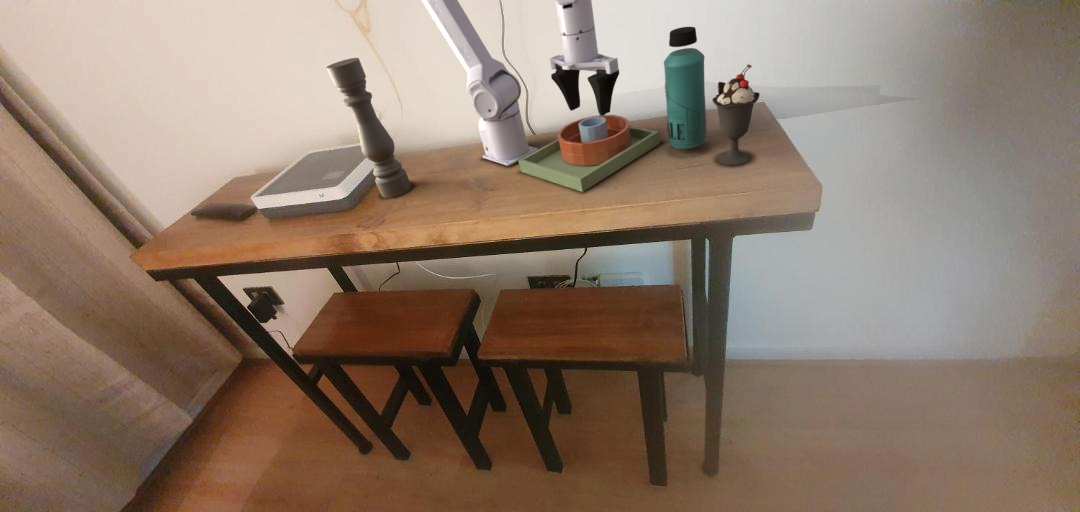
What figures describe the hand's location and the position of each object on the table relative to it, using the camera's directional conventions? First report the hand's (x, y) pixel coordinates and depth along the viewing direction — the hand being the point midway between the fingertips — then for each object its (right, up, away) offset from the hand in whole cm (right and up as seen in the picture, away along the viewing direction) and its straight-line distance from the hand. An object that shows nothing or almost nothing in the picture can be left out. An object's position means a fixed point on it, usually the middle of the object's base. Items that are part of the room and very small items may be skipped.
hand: (589, 110), depth 87 cm
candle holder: (-38, -13, +10) cm, 41 cm away
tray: (0, -8, +4) cm, 9 cm away
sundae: (+23, -11, -8) cm, 26 cm away
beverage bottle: (+17, -8, -2) cm, 19 cm away
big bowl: (+2, -7, +4) cm, 8 cm away
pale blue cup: (+2, -6, +4) cm, 8 cm away
